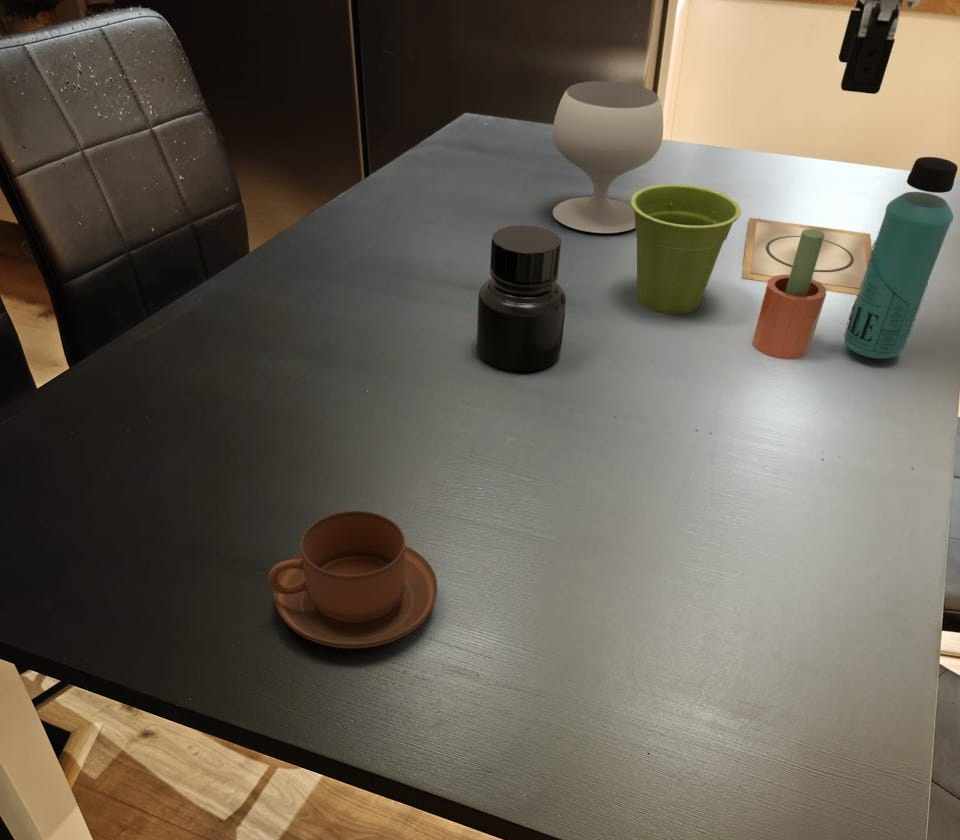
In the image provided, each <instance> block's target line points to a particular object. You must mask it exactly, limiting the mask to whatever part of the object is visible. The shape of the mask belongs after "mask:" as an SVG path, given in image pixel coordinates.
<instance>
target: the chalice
mask: <svg viewBox="0 0 960 840" xmlns="http://www.w3.org/2000/svg"><path fill="white" fill-rule="evenodd" d="M552 137H553V141H554V146H555V147H556V149H557V150H558V152H559V153H560V154H561V155H562V157H563V158H565V160H567V161H568V162H570V163H571V164H573V165H574V166H576V167H577V168H579V169H580V170H581V171H583V172H584V173H585V174H586V175H587V176H588V177H589V179H590V180H591V181H590V182H591V183H592V186H593V192H592V195H591V196H588V197H587V196H586V197H575V198H570V199H566V200H564V201H561V202H560V203H558V204H557V205H556V206H555V207H553V209H552V216H553V217H554V219H555V220H557V221H558V222H559V223H561V225H564V226H566V227H569V228H571V229H575V230H577V231H583V232H588V233H596V234H615V233H622V232H627V231H631V230H633V229H636V228H635V211H634V210H633V208H632V206H631V204H628V203H626V202H622V201H620V200H616V199H613V198H612V199H611V198H608V190H609V188H610V186H611V184H612V183H613V182H614V181H615V180H616V179H617V178H618V177H620V176H622V175H624V174H626V173H628V172H630V171H632V170H636V169H638V168H640V167H642V166H644V165H645V164H647V163H649V162H650V161H651V160H652V159H653V158H654V157H655V156H656V155H657V154H658V152H659V150H660V148H661V146H662V142H663V137H664V113H663V106H662V103H661V100H660V97H659V95H658V94H657V93H656V92H654V91H653V90H652V89H649V88H647V87H644V86H641V85H638V84H633V83H628V82H622V81H611V80H596V81H595V80H592V81H584V82H578V83H575V84H573V85H570V86H569V87H568V88H567V89H566V90H565V91H564V93H563V95H562V97H561V98H560V101H559V104H558V106H557V110H556V113H555V116H554V120H553V125H552Z"/></svg>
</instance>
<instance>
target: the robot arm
mask: <svg viewBox="0 0 960 840" xmlns="http://www.w3.org/2000/svg"><path fill="white" fill-rule="evenodd" d="M904 1H905V3H906V5H907V8H908V9H914V8H916V7H917V6H919V5H920V2H921V0H855V2H854V7H853V9H851V10H850V14H849V17H848V22H847V23H846V28H845V31H844V36H843V38H842V43H841V46H840V50H839V54H838V61H839V62H840V63H845V67H844V70H843V71H844V72H843V76H842V79H841V82H840V88H841V90H842V91H844V92H853V93H862V94H870V95H875V94H878V93H879V92H880V89H881V87H882V83H883V80H884V77H885V73H886V70H887V67H888V63H889V61H890V57H891V54H892V50H893V48H894V44H895V41H896V40H895V35H896V32H897V29H898V24H899V19H900V15H901V9H902V6H903V2H904Z"/></svg>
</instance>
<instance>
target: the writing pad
mask: <svg viewBox="0 0 960 840" xmlns="http://www.w3.org/2000/svg"><path fill="white" fill-rule="evenodd" d="M806 229H814V230H818V231H821V232H823V233H824V239H823V242H822V246H821V249H820V252H819V256H818V259H817V263H816V266H815V269H814V273H813V276H812V279H813V280H815V281H817V282H819V283H821V284H822V285H823V286H824V287H825V288H826V292H833V293H838V294H846V295H854V296H857V295H858V293H859V290H860V286H861V284H860V283H862V281H863V278H864V275H865V272H866V269H867V266H868V263H869V262H868V261H869V260H870V258H869V255H870V256H871V254H870V253H872V251H871V250H872V249H873V248H872V246H873V244H872V237H871V233H867V232H862V231H861V232H859V231H852V230H845V229H837V228H830V227H823V226H815V225H807V224H802V223H801V224H800V223H794V222H792V223H791V222H784V221H777V220H771V219H761V218H756V217H755V218H754V217H749V218H748V223H747V230H746V238H745V245H744V253H743V261H742V271H741V279H742V280H747V281H748V280H749V281H754V282H763V283H767V281H768V280H769V279H770V278H772V277H774V276H778V275H790V273H791V270H792V266H793V263H794V259H795V256H796V252H797V248H798V245H799V241H800V238H801V234H802V231H803V230H806ZM867 262H868V263H867ZM866 264H867V265H866Z"/></svg>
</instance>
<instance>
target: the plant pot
mask: <svg viewBox="0 0 960 840" xmlns="http://www.w3.org/2000/svg"><path fill="white" fill-rule="evenodd" d="M630 206H632V208H633V210H634V211H635V228H634V229H635V230H636V299H637V301H638V303H639V304H640V305H641V306H643V307H644V308H646V309H648V310H650V311H652V312H656V313H661V314H666V315H683V314H684V315H685V314H688V313H692V312H693V311H695V310H697V309H698V308H699V306H700V304H701V302H702V299H703V297H704V296H703V295H704V294H705V291H706V288H707V286H708V283H709V280H710V278H711V276H712V273H713V270H714V268H715V265H716V263H717V259H718V257H719V254H720V251H721V249H722V247H723V244H724V242H725V241H726V240H727V238H728V236H729V233H730V231H731V228H732V226H733V223H735V222H737V220H738V219H739V218H740V216H741V214H742V209H741V207H740V205H739V203H738V202H737V201H736V200H734V199H733V198H732V197H730V196H728V195H726V194H724V193H722V192H719V191H716V190H713V189H710V188H706V187H702V186H697V185H689V184H676V183H675V184H672V183H671V184H669V183H667V184H666V183H665V184H657V185H651V186H647V187H644V188H641V189H639V190H637V191H636V192H634V193H633V194H632V196H631V198H630Z"/></svg>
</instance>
